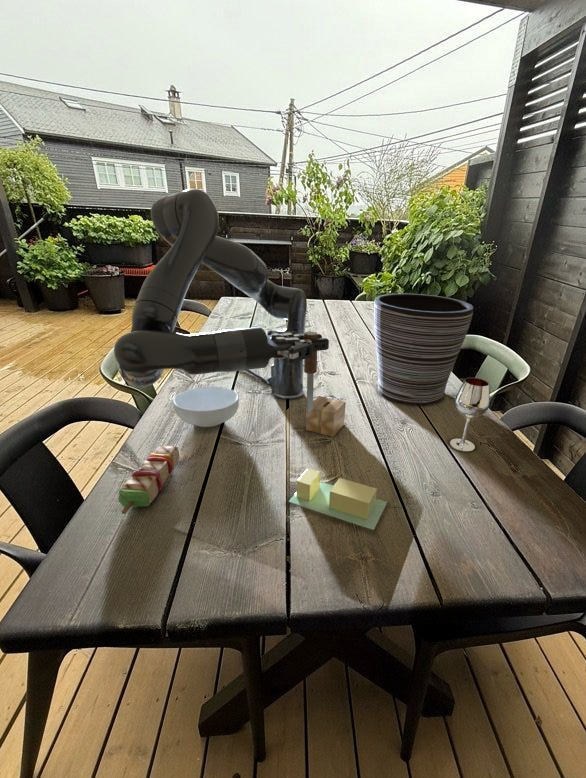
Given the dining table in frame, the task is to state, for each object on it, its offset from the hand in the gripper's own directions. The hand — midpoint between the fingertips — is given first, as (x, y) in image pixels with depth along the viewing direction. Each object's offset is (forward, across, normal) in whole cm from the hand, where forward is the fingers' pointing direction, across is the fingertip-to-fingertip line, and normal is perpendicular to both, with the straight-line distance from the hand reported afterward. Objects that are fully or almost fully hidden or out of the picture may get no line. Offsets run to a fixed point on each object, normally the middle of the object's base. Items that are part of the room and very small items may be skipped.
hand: (324, 341), depth 80 cm
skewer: (-36, +5, +30) cm, 47 cm away
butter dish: (-3, -15, +30) cm, 33 cm away
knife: (-3, 0, +15) cm, 15 cm away
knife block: (+9, +16, +30) cm, 35 cm away
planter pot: (+47, +28, +30) cm, 63 cm away
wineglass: (+38, -6, +30) cm, 49 cm away
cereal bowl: (-19, +31, +30) cm, 47 cm away
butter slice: (-7, -10, +29) cm, 31 cm away
